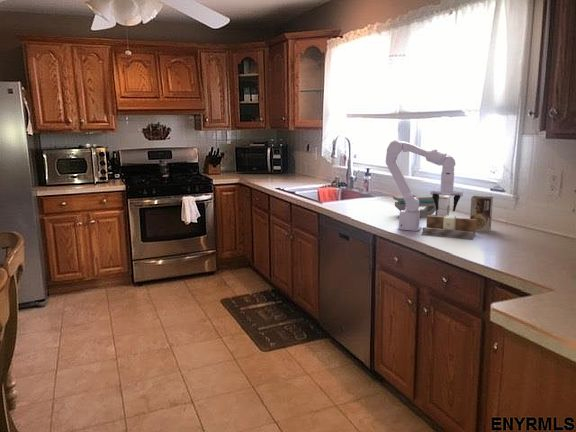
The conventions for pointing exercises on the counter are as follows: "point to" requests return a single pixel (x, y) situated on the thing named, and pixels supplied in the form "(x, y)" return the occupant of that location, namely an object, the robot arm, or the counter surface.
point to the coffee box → (482, 212)
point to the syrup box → (443, 206)
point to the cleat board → (462, 230)
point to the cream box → (449, 222)
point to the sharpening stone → (424, 201)
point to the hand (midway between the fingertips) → (445, 210)
